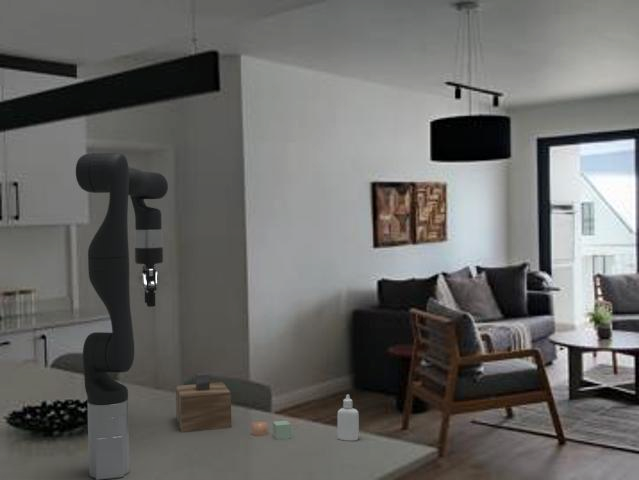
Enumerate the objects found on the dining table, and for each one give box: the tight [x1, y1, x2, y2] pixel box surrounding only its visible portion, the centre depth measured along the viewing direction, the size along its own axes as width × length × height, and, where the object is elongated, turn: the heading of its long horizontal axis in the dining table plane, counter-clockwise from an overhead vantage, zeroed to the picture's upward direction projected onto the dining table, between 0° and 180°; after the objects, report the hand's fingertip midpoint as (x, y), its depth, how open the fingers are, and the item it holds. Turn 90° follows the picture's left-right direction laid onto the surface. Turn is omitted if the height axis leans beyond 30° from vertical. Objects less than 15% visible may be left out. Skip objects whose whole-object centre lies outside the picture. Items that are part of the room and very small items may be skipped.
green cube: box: [272, 419, 292, 440], centre depth 199 cm, size 4×4×4 cm
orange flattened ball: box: [251, 420, 269, 437], centre depth 202 cm, size 4×4×3 cm
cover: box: [175, 371, 232, 433], centre depth 213 cm, size 14×14×14 cm
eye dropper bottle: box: [336, 394, 360, 442], centre depth 197 cm, size 4×6×12 cm
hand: (149, 304), depth 202 cm, fingers open, 8 cm apart
